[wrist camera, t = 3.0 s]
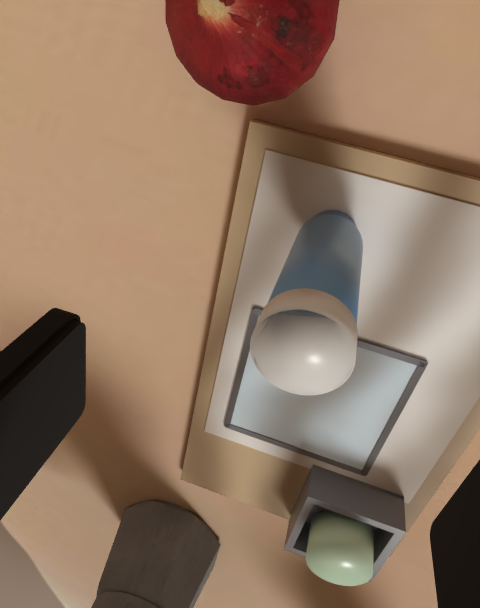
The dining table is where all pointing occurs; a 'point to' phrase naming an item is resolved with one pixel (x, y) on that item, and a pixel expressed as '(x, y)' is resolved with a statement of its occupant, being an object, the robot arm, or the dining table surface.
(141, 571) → the coffeepot
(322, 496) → the button housing
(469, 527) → the robot arm
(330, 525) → the button
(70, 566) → the dining table surface
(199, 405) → the clipboard
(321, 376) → the marker
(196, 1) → the onion
